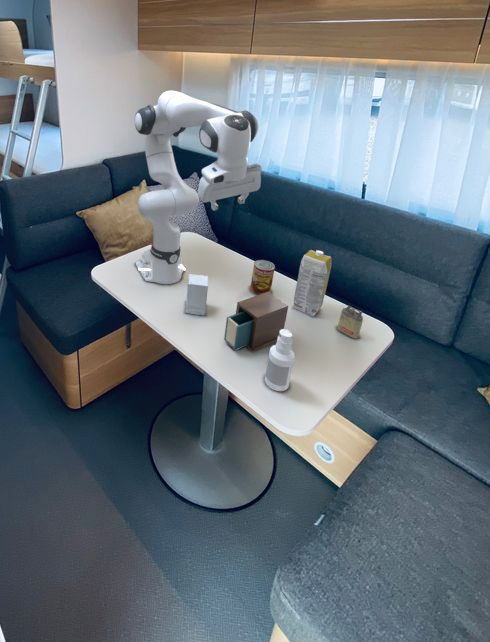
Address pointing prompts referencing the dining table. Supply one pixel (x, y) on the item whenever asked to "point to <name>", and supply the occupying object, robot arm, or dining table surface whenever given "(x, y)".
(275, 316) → the drawer cabinet
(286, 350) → the spray bottle
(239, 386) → the dining table surface
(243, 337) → the container
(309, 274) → the juice carton
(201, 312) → the white packaging box
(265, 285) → the canned food
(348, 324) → the lighter
